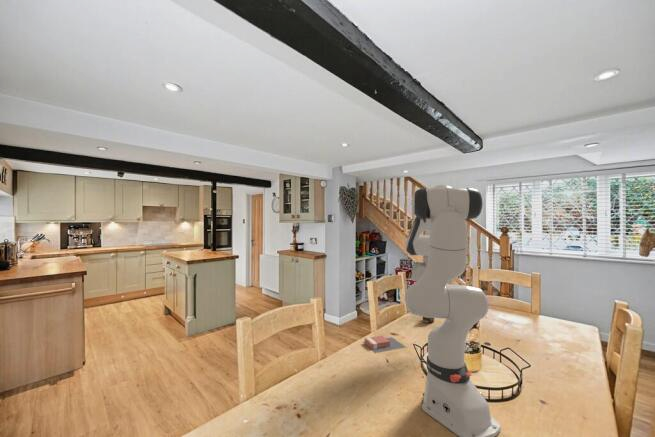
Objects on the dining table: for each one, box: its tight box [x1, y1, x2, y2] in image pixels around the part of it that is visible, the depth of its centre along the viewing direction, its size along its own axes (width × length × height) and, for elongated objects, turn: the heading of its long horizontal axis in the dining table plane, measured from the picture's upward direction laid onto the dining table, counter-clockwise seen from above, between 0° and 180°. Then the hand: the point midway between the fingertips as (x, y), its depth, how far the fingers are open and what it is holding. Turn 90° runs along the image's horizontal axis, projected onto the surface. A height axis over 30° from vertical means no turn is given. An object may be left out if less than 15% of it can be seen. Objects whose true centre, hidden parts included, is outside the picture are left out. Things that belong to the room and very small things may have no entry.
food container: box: [422, 317, 435, 325], centre depth 162 cm, size 12×6×10 cm, turn 143°
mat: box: [363, 336, 406, 354], centre depth 129 cm, size 12×17×1 cm
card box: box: [364, 335, 390, 350], centre depth 129 cm, size 7×2×10 cm
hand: (431, 291), depth 129 cm, fingers closed
